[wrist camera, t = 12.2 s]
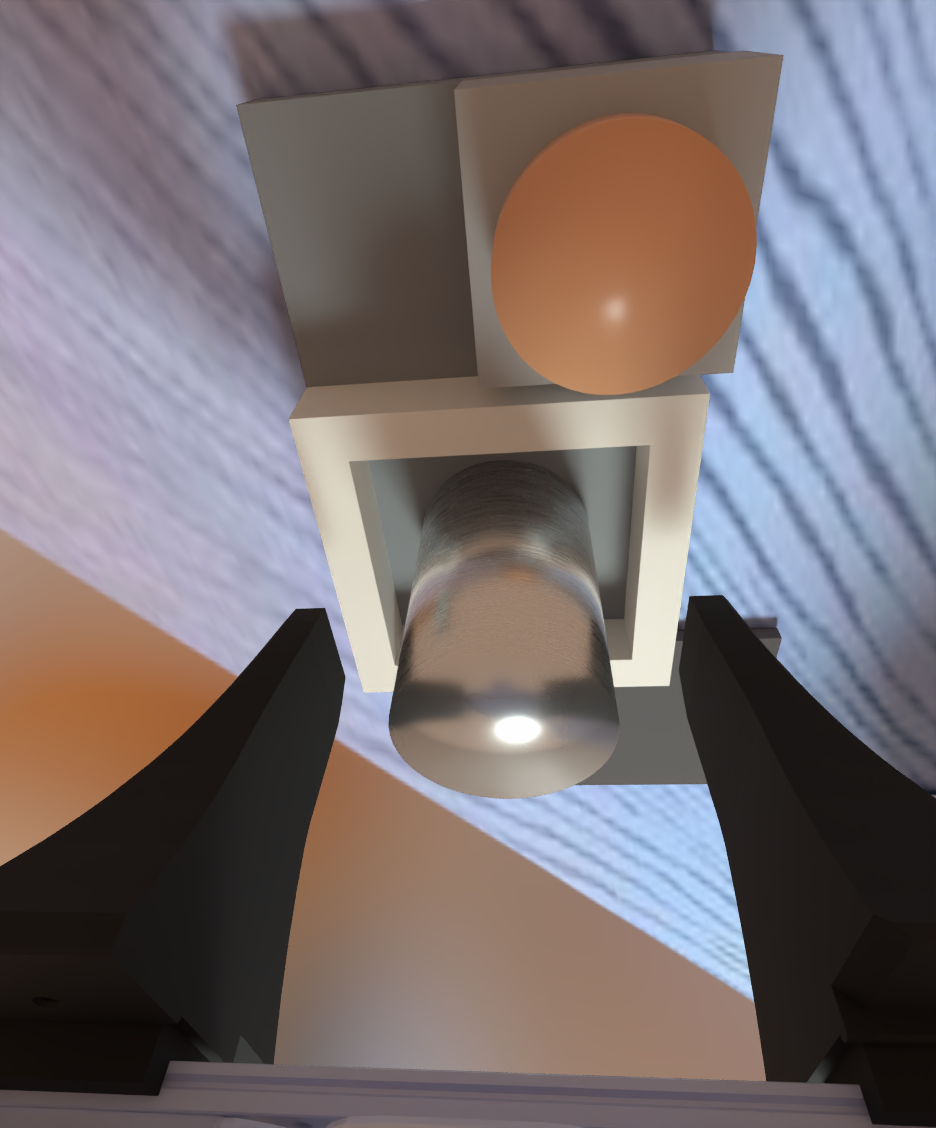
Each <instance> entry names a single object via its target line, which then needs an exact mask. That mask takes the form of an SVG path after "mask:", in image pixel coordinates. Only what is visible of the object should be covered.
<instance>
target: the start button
mask: <svg viewBox="0 0 936 1128" xmlns="http://www.w3.org/2000/svg"><path fill="white" fill-rule="evenodd" d="M756 246H757V240H756V223H755V217H754V211H753V206H752V203H751V200H750V197H749V194H748V191H747V189H746V187H745V185H744V183H743V181H742V179H741V177H740V175H739V173H738V172H737V170H736V169H735V167H734V166H733V165H732V163H731V162H730V160H729V159H728V158H727V157H726V156H725V155H724V154H723V153H722V152H721V151H720V150H719V149H718V148H717V147H716V146H715V145H714V144H712V143H711V142H709V141H708V140H707V139H705V138H704V137H703V136H701V135H699V134H698V133H696V132H694V131H693V130H691V129H689V128H687V127H685V126H683V125H681V124H679V123H677V122H675V121H673V120H670V119H667V118H664V117H661V116H657V115H652V114H645V113H617V114H611V115H605V116H601V117H598V118H595V119H592V120H589V121H586V122H583V123H581V124H579V125H577V126H575V127H573V128H571V129H569V130H567V131H565V132H564V133H562V134H561V135H559V136H558V137H556V138H555V139H553V140H552V141H551V142H549V143H548V144H547V145H546V146H545V147H544V148H543V149H542V150H540V151H539V152H538V153H537V154H536V155H535V156H534V157H533V159H532V160H531V161H530V162H529V163H528V164H527V165H526V166H525V168H524V169H523V170H522V172H521V173H520V175H519V176H518V178H517V179H516V181H515V182H514V184H513V186H512V187H511V189H510V191H509V193H508V195H507V197H506V199H505V201H504V204H503V207H502V209H501V212H500V214H499V217H498V221H497V225H496V230H495V234H494V241H493V250H492V261H491V287H492V294H493V301H494V305H495V309H496V313H497V317H498V319H499V321H500V324H501V326H502V329H503V331H504V333H505V335H506V336H507V338H508V340H509V342H510V343H511V345H512V346H513V348H514V349H515V350H516V352H517V353H518V354H519V356H520V357H521V358H522V359H523V360H524V361H525V362H526V363H527V364H528V365H529V366H530V367H531V368H532V369H534V370H535V371H536V372H538V373H539V374H540V375H542V376H543V377H545V378H547V379H548V380H550V381H552V382H554V383H555V384H558V385H560V386H563V387H565V388H568V389H570V390H574V391H578V392H582V393H587V394H596V395H619V394H627V393H633V392H637V391H641V390H645V389H648V388H651V387H654V386H656V385H659V384H662V383H664V382H666V381H668V380H670V379H672V378H674V377H676V376H677V375H679V374H680V373H682V372H683V371H685V370H686V369H688V368H690V367H691V366H692V365H693V364H695V363H696V362H697V361H698V360H700V359H701V358H702V357H703V356H704V355H705V354H706V353H707V352H708V351H709V350H710V349H711V348H712V347H713V346H714V345H715V344H716V343H717V342H718V341H719V339H720V338H721V337H722V336H723V334H724V333H725V332H726V331H727V329H728V328H729V326H730V324H731V323H732V321H733V320H734V318H735V317H736V315H737V313H738V311H739V309H740V307H741V305H742V303H743V301H744V299H745V296H746V293H747V290H748V287H749V285H750V282H751V278H752V273H753V269H754V264H755V256H756Z"/></svg>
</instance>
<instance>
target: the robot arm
mask: <svg viewBox="0 0 936 1128" xmlns="http://www.w3.org/2000/svg"><path fill="white" fill-rule="evenodd" d="M679 675H680V681H681V687H682V693H683V698H684V704H685V709H686V714H687V719H688V722H689V726H690V729H691V732H692V736H693V739H694V742H695V745H696V749H697V752H698V755H699V758H700V762H701V765H702V768H703V771H704V775H705V778H706V781H707V784H708V787H709V791H710V794H711V797H712V800H713V803H714V807H715V810H716V813H717V816H718V820H719V823H720V827H721V831H722V834H723V838H724V842H725V846H726V851H727V856H728V861H729V866H730V871H731V876H732V881H733V886H734V891H735V896H736V901H737V906H738V912H739V917H740V922H741V928H742V933H743V938H744V944H745V949H746V955H747V961H748V967H749V973H750V979H751V985H752V990H753V996H754V1002H755V1008H756V1015H757V1021H758V1028H759V1034H760V1040H761V1048H762V1054H763V1061H764V1067H765V1074H766V1081H739V1080H738V1081H737V1080H711V1079H682V1078H653V1077H624V1076H623V1077H622V1076H595V1075H594V1076H593V1075H565V1074H537V1073H536V1074H534V1073H508V1072H479V1071H450V1070H420V1069H392V1068H364V1067H361V1068H360V1067H335V1066H333V1067H332V1066H305V1065H304V1066H303V1065H276V1064H274V1054H275V1044H276V1036H277V1027H278V1019H279V1010H280V1001H281V993H282V985H283V978H284V971H285V963H286V956H287V948H288V942H289V935H290V928H291V922H292V916H293V910H294V904H295V897H296V891H297V885H298V880H299V874H300V869H301V863H302V858H303V852H304V847H305V842H306V838H307V834H308V829H309V825H310V821H311V818H312V814H313V811H314V807H315V804H316V800H317V797H318V794H319V790H320V787H321V783H322V780H323V776H324V773H325V769H326V766H327V762H328V759H329V755H330V752H331V748H332V745H333V741H334V738H335V734H336V730H337V727H338V723H339V717H340V711H341V705H342V698H343V691H344V684H345V674H344V671H343V667H342V664H341V661H340V657H339V654H338V650H337V647H336V644H335V640H334V637H333V633H332V630H331V627H330V623H329V620H328V616H327V613H326V609H325V608H311V609H296V610H295V611H294V612H293V613H292V614H291V615H290V616H289V618H288V619H287V620H286V621H285V622H284V623H283V625H282V626H281V627H280V628H279V629H278V631H277V632H276V633H275V634H274V635H273V637H272V638H271V639H270V640H269V641H268V643H267V644H266V645H265V646H264V647H263V649H262V650H261V651H260V652H259V653H258V655H257V656H256V657H255V658H254V659H253V661H252V662H251V663H250V664H249V665H248V666H247V667H246V669H245V670H244V671H243V672H242V673H241V674H240V675H239V676H238V678H237V679H236V680H235V681H234V682H233V683H232V685H231V686H230V687H229V688H228V689H227V690H226V691H225V692H224V693H223V694H222V695H221V696H220V697H219V698H218V699H217V701H216V702H215V703H214V704H213V705H212V706H211V707H210V708H209V709H208V710H207V711H206V712H205V713H204V714H203V715H202V716H201V717H200V718H199V719H198V720H197V721H196V722H195V723H194V724H193V725H192V726H191V727H190V728H189V729H188V730H187V731H186V732H185V733H184V734H183V735H182V736H181V737H180V738H179V739H177V740H176V741H175V742H174V743H173V744H172V745H171V746H170V747H168V748H167V749H166V750H165V751H164V752H163V753H162V754H161V755H159V756H158V757H157V758H156V759H155V760H153V761H152V762H151V763H150V764H149V765H147V766H146V767H145V768H144V769H142V770H141V771H140V772H138V773H137V774H136V775H135V776H133V777H132V778H131V779H129V780H128V781H127V782H126V783H125V784H123V785H122V786H121V787H119V788H118V789H117V790H115V791H114V792H113V793H112V794H110V795H109V796H108V797H106V798H105V799H104V800H102V801H101V802H99V803H98V804H97V805H95V806H94V807H92V808H91V809H90V810H88V811H87V812H85V813H84V814H83V815H81V816H80V817H78V818H77V819H75V820H74V821H72V822H71V823H69V824H68V825H66V826H65V827H63V828H62V829H60V830H59V831H57V832H56V833H54V834H53V835H51V836H50V837H48V838H46V839H45V840H43V841H42V842H40V843H38V844H37V845H35V846H34V847H32V848H30V849H29V850H27V851H25V852H23V853H22V854H20V855H18V856H17V857H15V858H13V859H12V860H10V861H8V862H7V863H5V864H4V865H2V866H0V1128H936V795H931V794H929V793H928V792H927V791H925V790H924V789H922V788H921V787H920V786H918V785H917V784H915V783H914V782H913V781H911V780H910V779H909V778H907V777H906V776H904V775H903V774H902V773H900V772H899V771H898V770H896V769H895V768H894V767H892V766H891V765H890V764H888V763H887V762H886V761H885V760H883V759H882V758H881V757H880V756H878V755H877V754H876V753H875V752H873V751H872V750H871V749H870V748H869V747H867V746H866V745H865V744H864V743H863V742H861V741H860V740H859V739H858V738H857V737H856V736H854V735H853V734H852V733H851V732H850V731H849V730H848V729H846V728H845V727H844V726H843V725H842V724H841V723H840V722H839V721H838V720H837V719H835V718H834V717H833V716H832V715H831V714H830V713H829V712H828V711H827V710H826V709H825V708H824V707H823V706H822V705H821V704H820V703H819V702H818V701H817V700H816V699H815V698H814V697H813V696H812V695H811V694H810V693H809V692H808V691H807V690H806V689H805V688H804V687H803V686H802V685H801V684H800V683H799V682H798V681H797V680H796V679H795V678H794V677H793V676H792V675H791V674H790V673H789V671H788V670H787V669H786V668H785V667H784V666H783V665H782V664H781V663H780V662H779V661H778V660H777V659H776V657H775V656H774V655H773V654H772V653H771V652H770V651H769V650H768V648H767V647H766V646H765V645H764V644H763V643H762V641H761V640H760V639H759V638H758V637H757V636H756V634H755V633H754V632H753V631H752V630H751V629H750V627H749V626H748V625H747V624H746V622H745V621H744V620H743V619H742V618H741V616H740V615H739V614H738V613H737V611H736V610H735V609H734V608H733V606H732V605H731V604H730V603H729V601H728V600H727V599H726V598H725V597H724V596H723V595H715V596H690V597H689V603H688V610H687V617H686V624H685V630H684V637H683V644H682V651H681V658H680V664H679Z"/></svg>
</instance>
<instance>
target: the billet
mask: <svg viewBox="0 0 936 1128" xmlns="http://www.w3.org/2000/svg"><path fill="white" fill-rule="evenodd" d="M389 731H390V736H391V739H392V742H393V744H394V746H395V748H396V750H397V751H398V753H399V754H400V756H401V757H402V758H403V759H404V761H405V762H406V763H408V764H409V765H410V766H411V767H412V768H413V769H414V770H416V771H417V772H418V773H420V774H421V775H422V776H424V777H426V778H427V779H429V780H431V781H433V782H435V783H437V784H439V785H441V786H443V787H446V788H449V789H452V790H455V791H458V792H462V793H465V794H469V795H475V796H480V797H488V798H503V799H513V798H528V797H536V796H541V795H546V794H550V793H554V792H557V791H561V790H563V789H566V788H568V787H571V786H573V785H575V784H577V783H579V782H581V781H583V780H585V779H586V778H588V777H589V776H591V775H592V774H594V773H595V772H596V771H597V770H599V769H600V768H601V767H602V766H603V765H604V764H605V763H606V761H607V760H608V759H609V758H610V756H611V755H612V753H613V751H614V750H615V747H616V745H617V742H618V738H619V733H620V723H619V715H618V709H617V703H616V696H615V690H614V683H613V677H612V670H611V664H610V657H609V651H608V644H607V638H606V632H605V625H604V619H603V612H602V606H601V599H600V593H599V586H598V580H597V573H596V567H595V561H594V554H593V548H592V541H591V535H590V528H589V522H588V517H587V512H586V509H585V507H584V504H583V502H582V500H581V498H580V497H579V495H578V493H577V492H576V491H575V490H574V489H573V487H572V486H571V485H570V484H569V483H568V482H566V481H565V480H564V479H563V478H562V477H560V476H559V475H557V474H556V473H554V472H552V471H550V470H548V469H546V468H544V467H541V466H539V465H536V464H532V463H528V462H524V461H516V460H496V461H488V462H484V463H479V464H476V465H473V466H471V467H468V468H466V469H464V470H462V471H460V472H458V473H456V474H455V475H453V476H452V477H450V478H449V479H448V480H447V481H446V482H444V483H443V484H442V485H441V486H440V488H439V489H438V490H437V491H436V492H435V494H434V495H433V497H432V499H431V500H430V502H429V505H428V507H427V509H426V513H425V517H424V523H423V528H422V534H421V539H420V545H419V551H418V556H417V562H416V568H415V573H414V579H413V584H412V590H411V596H410V601H409V607H408V613H407V618H406V624H405V629H404V635H403V641H402V646H401V652H400V657H399V663H398V669H397V674H396V680H395V686H394V691H393V697H392V702H391V708H390V714H389Z"/></svg>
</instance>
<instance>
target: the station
mask: <svg viewBox="0 0 936 1128" xmlns="http://www.w3.org/2000/svg"><path fill="white" fill-rule="evenodd" d="M782 61H783V55H778V54H768V53H759V52H750V51H737V52H724V51H715V50H714V51H705V52H696V53H686V54H677V55H668V56H659V57H649V58H640V59H631V60H621V61H612V62H603V63H593V64H584V65H575V66H565V67H556V68H547V69H538V70H528V71H519V72H510V73H500V74H491V75H482V76H472V77H463V78H454V79H445V80H435V81H426V82H417V83H407V84H398V85H389V86H379V87H370V88H361V89H351V90H342V91H333V92H324V93H314V94H305V95H296V96H286V97H277V98H268V99H258V100H252V101H249V102H245V103H242V104H238V105H236V106H237V110H238V114H239V118H240V122H241V126H242V130H243V134H244V138H245V142H246V146H247V150H248V154H249V158H250V162H251V166H252V170H253V174H254V178H255V182H256V186H257V190H258V194H259V198H260V202H261V206H262V210H263V214H264V218H265V222H266V226H267V230H268V234H269V238H270V242H271V246H272V250H273V254H274V258H275V262H276V266H277V270H278V274H279V278H280V282H281V286H282V290H283V294H284V298H285V302H286V306H287V310H288V314H289V318H290V322H291V326H292V330H293V334H294V338H295V342H296V346H297V350H298V354H299V358H300V362H301V366H302V370H303V374H304V378H305V382H306V386H307V388H306V390H305V391H304V393H303V395H302V397H301V398H300V400H299V402H298V404H297V405H296V407H295V409H294V411H293V412H292V414H291V416H290V418H289V423H290V426H291V430H292V433H293V437H294V441H295V444H296V448H297V452H298V455H299V459H300V462H301V466H302V470H303V473H304V477H305V481H306V484H307V488H308V491H309V495H310V499H311V502H312V506H313V510H314V513H315V517H316V521H317V524H318V528H319V531H320V535H321V539H322V542H323V546H324V550H325V553H326V557H327V560H328V564H329V568H330V571H331V575H332V579H333V582H334V586H335V589H336V593H337V597H338V600H339V604H340V608H341V611H342V615H343V618H344V622H345V626H346V629H347V633H348V637H349V640H350V644H351V647H352V651H353V655H354V658H355V662H356V666H357V669H358V673H359V676H360V680H361V684H362V687H363V691H364V692H393V691H394V686H395V680H396V674H397V669H398V663H399V657H400V652H401V646H402V641H403V635H404V629H405V624H406V618H407V613H408V607H409V601H410V596H411V590H412V584H413V579H414V573H415V568H416V562H417V556H418V551H419V545H420V539H421V534H422V528H423V523H424V517H425V513H426V509H427V507H428V505H429V502H430V500H431V499H432V497H433V495H434V494H435V492H436V491H437V490H438V489H439V488H440V486H441V485H442V484H443V483H444V482H446V481H447V480H448V479H449V478H450V477H452V476H453V475H455V474H456V473H458V472H460V471H462V470H464V469H466V468H468V467H471V466H473V465H476V464H479V463H484V462H488V461H496V460H516V461H524V462H528V463H532V464H536V465H539V466H541V467H544V468H546V469H548V470H550V471H552V472H554V473H556V474H557V475H559V476H560V477H562V478H563V479H564V480H565V481H566V482H568V483H569V484H570V485H571V486H572V487H573V489H574V490H575V491H576V492H577V493H578V495H579V497H580V498H581V500H582V502H583V504H584V507H585V509H586V512H587V517H588V522H589V528H590V535H591V541H592V548H593V554H594V561H595V567H596V573H597V580H598V586H599V593H600V599H601V606H602V612H603V619H604V625H605V632H606V638H607V644H608V651H609V657H610V664H611V670H612V677H613V683H614V687H640V686H669V685H670V677H671V670H672V663H673V656H674V649H675V642H676V634H677V627H678V620H679V613H680V606H681V598H682V591H683V584H684V577H685V570H686V563H687V555H688V548H689V541H690V534H691V527H692V519H693V512H694V505H695V498H696V491H697V484H698V476H699V469H700V462H701V455H702V448H703V441H704V433H705V426H706V419H707V412H708V405H709V397H710V393H709V391H708V389H707V387H706V385H705V383H704V382H703V380H702V378H701V376H700V375H703V374H719V373H733V370H734V364H735V358H736V351H737V345H738V339H739V332H740V326H741V320H742V313H743V307H744V301H745V299H744V301H743V303H742V305H741V307H740V309H739V311H738V313H737V315H736V317H735V318H734V320H733V321H732V323H731V324H730V326H729V328H728V329H727V331H726V332H725V333H724V334H723V336H722V337H721V338H720V339H719V341H718V342H717V343H716V344H715V345H714V346H713V347H712V348H711V349H710V350H709V351H708V352H707V353H706V354H705V355H704V356H703V357H702V358H701V359H700V360H698V361H697V362H696V363H695V364H693V365H692V366H691V367H690V368H688V369H686V370H685V371H683V372H682V373H680V374H679V375H677V376H676V377H674V378H672V379H670V380H668V381H666V382H664V383H662V384H659V385H656V386H654V387H651V388H648V389H645V390H641V391H637V392H633V393H627V394H619V395H596V394H587V393H582V392H578V391H574V390H570V389H568V388H565V387H563V386H560V385H558V384H555V383H554V382H552V381H550V380H548V379H547V378H545V377H543V376H542V375H540V374H539V373H538V372H536V371H535V370H534V369H532V368H531V367H530V366H529V365H528V364H527V363H526V362H525V361H524V360H523V359H522V358H521V357H520V356H519V354H518V353H517V352H516V350H515V349H514V348H513V346H512V345H511V343H510V342H509V340H508V338H507V336H506V335H505V333H504V331H503V329H502V326H501V324H500V321H499V319H498V317H497V313H496V309H495V305H494V301H493V294H492V287H491V261H492V250H493V241H494V234H495V230H496V225H497V221H498V217H499V214H500V212H501V209H502V207H503V204H504V201H505V199H506V197H507V195H508V193H509V191H510V189H511V187H512V186H513V184H514V182H515V181H516V179H517V178H518V176H519V175H520V173H521V172H522V170H523V169H524V168H525V166H526V165H527V164H528V163H529V162H530V161H531V160H532V159H533V157H534V156H535V155H536V154H537V153H538V152H539V151H540V150H542V149H543V148H544V147H545V146H546V145H547V144H548V143H549V142H551V141H552V140H553V139H555V138H556V137H558V136H559V135H561V134H562V133H564V132H565V131H567V130H569V129H571V128H573V127H575V126H577V125H579V124H581V123H583V122H586V121H589V120H592V119H595V118H598V117H601V116H605V115H611V114H617V113H645V114H652V115H657V116H661V117H664V118H667V119H670V120H673V121H675V122H677V123H679V124H681V125H683V126H685V127H687V128H689V129H691V130H693V131H694V132H696V133H698V134H699V135H701V136H703V137H704V138H705V139H707V140H708V141H709V142H711V143H712V144H714V145H715V146H716V147H717V148H718V149H719V150H720V151H721V152H722V153H723V154H724V155H725V156H726V157H727V158H728V159H729V160H730V162H731V163H732V165H733V166H734V167H735V169H736V170H737V172H738V173H739V175H740V177H741V179H742V181H743V183H744V185H745V187H746V189H747V191H748V194H749V197H750V200H751V203H752V206H753V211H754V217H755V223H756V225H757V219H758V212H759V206H760V200H761V193H762V187H763V181H764V175H765V168H766V162H767V156H768V149H769V143H770V137H771V130H772V124H773V118H774V111H775V105H776V99H777V92H778V86H779V80H780V74H781V67H782Z"/></svg>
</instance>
